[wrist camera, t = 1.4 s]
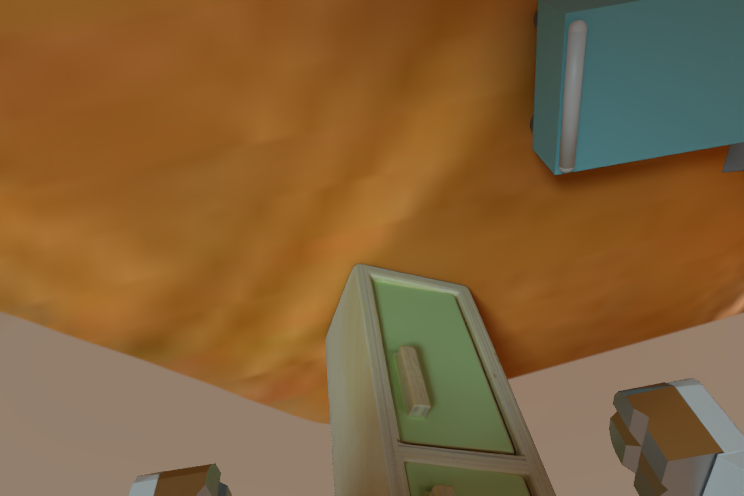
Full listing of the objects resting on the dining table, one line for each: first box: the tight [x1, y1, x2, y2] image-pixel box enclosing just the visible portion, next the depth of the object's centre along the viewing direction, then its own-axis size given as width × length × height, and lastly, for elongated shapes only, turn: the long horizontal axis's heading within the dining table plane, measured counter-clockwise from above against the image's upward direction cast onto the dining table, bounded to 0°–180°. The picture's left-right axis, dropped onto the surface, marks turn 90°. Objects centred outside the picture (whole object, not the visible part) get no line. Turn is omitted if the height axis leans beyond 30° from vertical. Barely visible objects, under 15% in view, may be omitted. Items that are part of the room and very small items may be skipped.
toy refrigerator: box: [325, 264, 556, 496], centre depth 26 cm, size 8×7×21 cm
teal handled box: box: [530, 0, 744, 175], centre depth 24 cm, size 7×10×5 cm
